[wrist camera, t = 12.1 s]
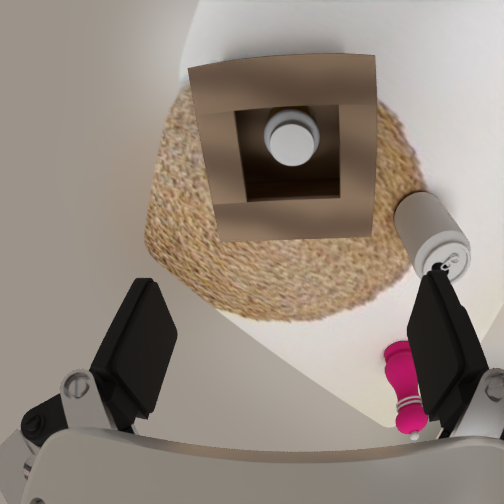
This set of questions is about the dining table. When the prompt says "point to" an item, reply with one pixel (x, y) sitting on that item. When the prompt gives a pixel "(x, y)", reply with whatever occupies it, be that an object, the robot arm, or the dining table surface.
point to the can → (432, 236)
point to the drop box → (275, 173)
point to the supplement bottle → (291, 134)
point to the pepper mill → (405, 389)
